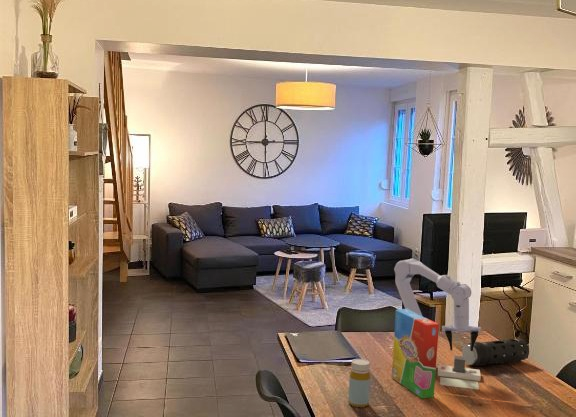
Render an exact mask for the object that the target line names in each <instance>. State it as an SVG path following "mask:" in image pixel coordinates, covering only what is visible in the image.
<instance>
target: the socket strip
mask: <svg viewBox="0 0 576 417" xmlns="http://www.w3.org/2000/svg"><path fill="white" fill-rule="evenodd" d="M453 370H454V365H452V366H451V365H445V364H444V365H443V364H437V377H444V378H452V379H460V380H468V381H476V382H481V378H482V377H481V371H480V369H475V368H468V367H465V371H464V373H460V372H453Z"/></svg>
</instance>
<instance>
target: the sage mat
mask: <svg viewBox="0 0 576 417" xmlns="http://www.w3.org/2000/svg"><path fill="white" fill-rule="evenodd" d="M439 378H440V379H439V385H441V386H444V387H445V386H447V387H454V388H463V389H470V390H478V391H479V390H480V388H479V381H476V380H468V379H460V378H452V377H444V376H439Z"/></svg>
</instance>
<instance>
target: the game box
mask: <svg viewBox="0 0 576 417" xmlns="http://www.w3.org/2000/svg"><path fill="white" fill-rule="evenodd" d="M394 318H395V319H394V333H393V334H394V336H393V352H392V365H391V366H392V367H391V379H392V380H395V381H396V382H397V383H399V384H400V385H402V386H403V387H405V389H407V390H409V391H411V393H413V394H414V395H416V396H417V397H419V398H420V399H429V398H434V397H435V385H436V370H437V358H438V344H439V343H438V341H439V328H440V323H438V322H435V321H433V320H431V319H429V318H427V317H424V316H423V315H422V316H421V315H419V314H417V313H415V312H413V311H411V310H409V309H405V308H401V309H395V316H394Z"/></svg>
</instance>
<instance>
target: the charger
mask: <svg viewBox="0 0 576 417" xmlns="http://www.w3.org/2000/svg"><path fill="white" fill-rule="evenodd" d="M453 367H454V370H453V372H460V373H464V371H465V368H466V362H465V357H463V355H462V356H461V355H454V359H453Z"/></svg>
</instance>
